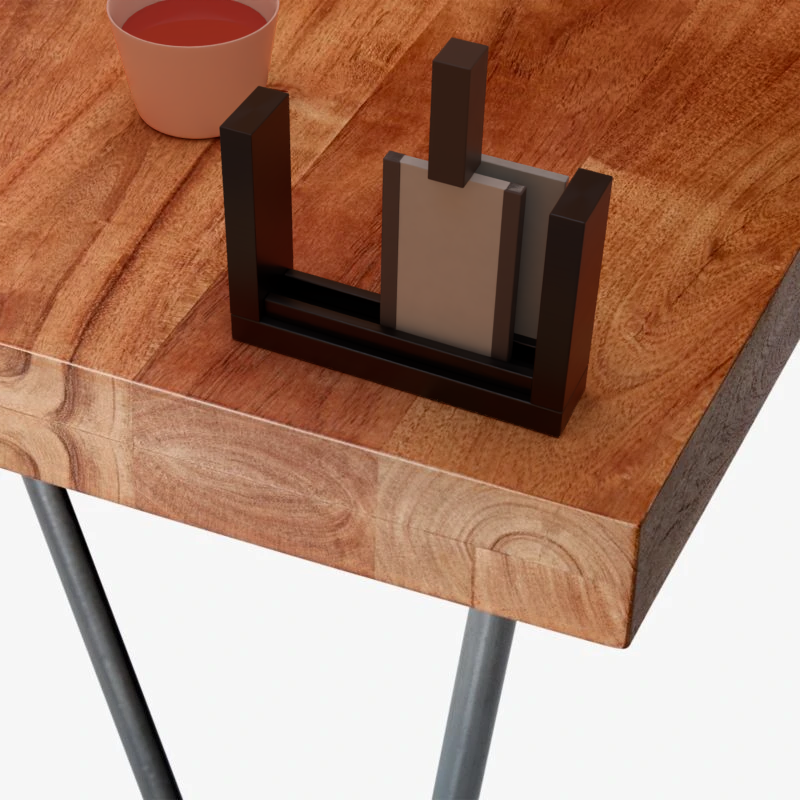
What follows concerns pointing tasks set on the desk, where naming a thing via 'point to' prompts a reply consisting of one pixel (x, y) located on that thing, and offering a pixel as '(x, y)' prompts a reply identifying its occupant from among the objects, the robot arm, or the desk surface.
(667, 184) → the desk surface
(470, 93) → the sash
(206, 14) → the candle
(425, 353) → the window frame
